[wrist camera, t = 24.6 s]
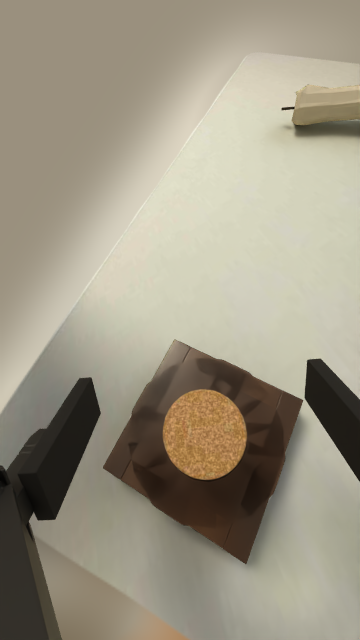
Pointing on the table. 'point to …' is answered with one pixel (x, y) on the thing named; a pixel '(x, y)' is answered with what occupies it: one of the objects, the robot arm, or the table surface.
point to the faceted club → (326, 104)
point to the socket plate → (217, 494)
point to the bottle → (204, 434)
